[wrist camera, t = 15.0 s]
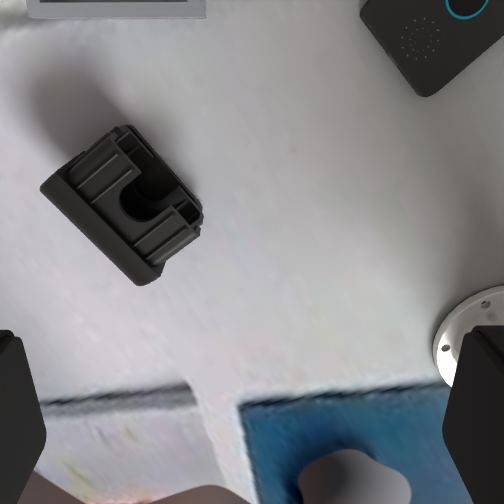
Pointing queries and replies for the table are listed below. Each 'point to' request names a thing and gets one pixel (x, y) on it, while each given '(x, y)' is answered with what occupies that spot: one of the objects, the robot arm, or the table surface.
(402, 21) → the smart home device
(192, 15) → the rectangular tray
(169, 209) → the end cap
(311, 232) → the table surface
